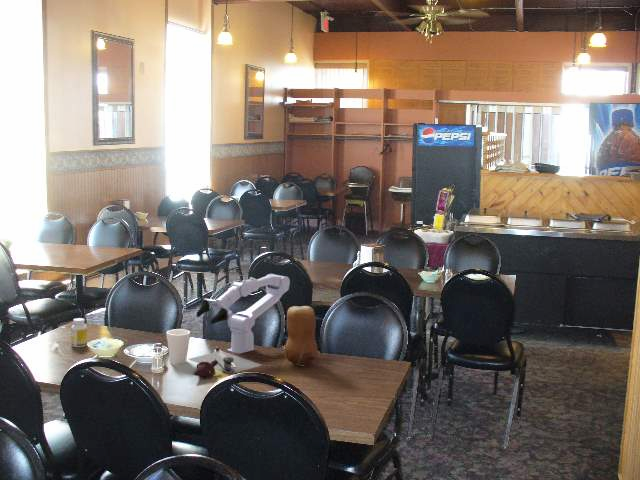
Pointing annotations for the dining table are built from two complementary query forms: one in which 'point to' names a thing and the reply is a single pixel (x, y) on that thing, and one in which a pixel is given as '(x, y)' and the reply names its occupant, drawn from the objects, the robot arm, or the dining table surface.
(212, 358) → the board
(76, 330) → the pill bottle
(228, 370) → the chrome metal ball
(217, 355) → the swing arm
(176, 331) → the foam cup
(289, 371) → the dining table surface
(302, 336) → the butternut squash
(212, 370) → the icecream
